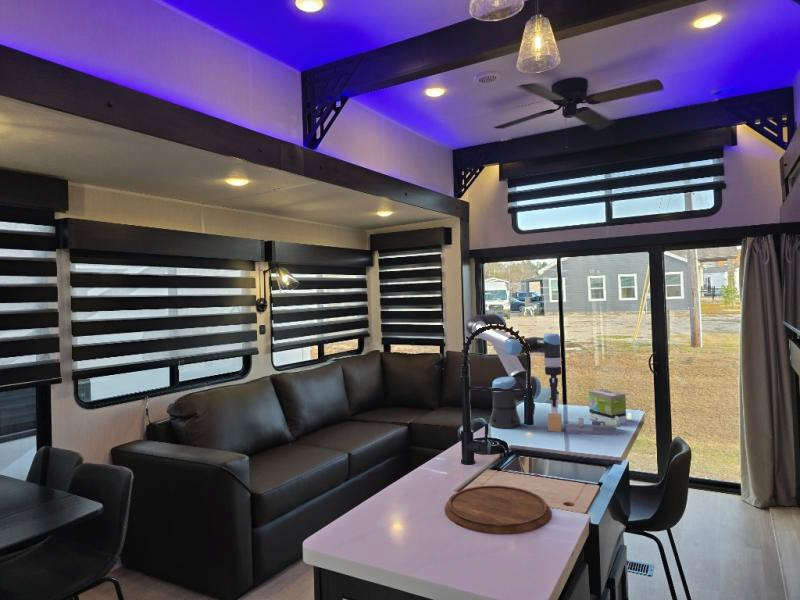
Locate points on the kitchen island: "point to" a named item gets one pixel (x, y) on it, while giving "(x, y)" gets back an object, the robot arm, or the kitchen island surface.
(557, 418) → the jaw block
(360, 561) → the kitchen island surface
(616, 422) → the cover
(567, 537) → the kitchen island surface
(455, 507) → the cutting board
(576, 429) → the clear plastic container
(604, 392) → the tea box
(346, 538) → the kitchen island surface
